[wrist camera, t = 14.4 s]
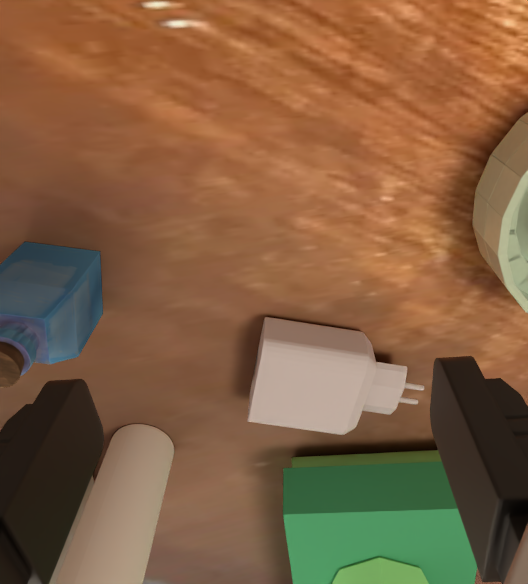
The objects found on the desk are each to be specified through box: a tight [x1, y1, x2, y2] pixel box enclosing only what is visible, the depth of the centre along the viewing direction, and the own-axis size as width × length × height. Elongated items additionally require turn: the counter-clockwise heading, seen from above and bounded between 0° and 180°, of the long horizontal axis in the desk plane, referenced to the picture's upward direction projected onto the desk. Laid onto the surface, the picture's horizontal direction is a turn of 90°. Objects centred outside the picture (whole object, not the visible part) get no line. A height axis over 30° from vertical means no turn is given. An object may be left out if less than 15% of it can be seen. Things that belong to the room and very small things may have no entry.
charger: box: [248, 317, 424, 435], centre depth 44 cm, size 5×9×15 cm
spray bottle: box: [55, 424, 174, 584], centre depth 42 cm, size 7×7×25 cm
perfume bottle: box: [0, 242, 103, 387], centre depth 38 cm, size 6×6×12 cm
